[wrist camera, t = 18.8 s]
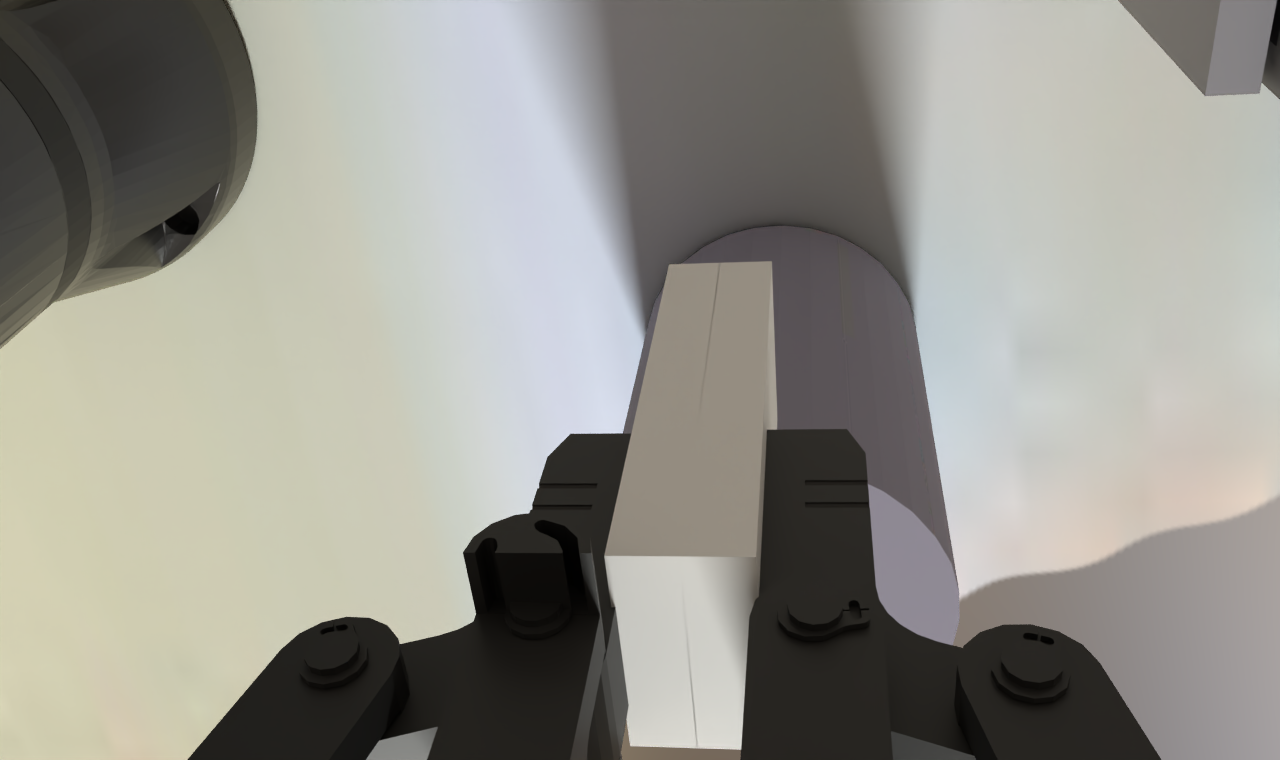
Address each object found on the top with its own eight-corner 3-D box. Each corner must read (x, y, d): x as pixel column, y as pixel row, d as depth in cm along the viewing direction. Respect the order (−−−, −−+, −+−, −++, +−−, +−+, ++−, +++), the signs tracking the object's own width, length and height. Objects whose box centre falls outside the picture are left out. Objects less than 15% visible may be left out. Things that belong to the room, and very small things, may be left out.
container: (951, 408, 46) (1007, 695, 33) (710, 481, 49) (678, 768, 37) (862, 180, 41) (886, 411, 29) (603, 277, 45) (524, 523, 32)
